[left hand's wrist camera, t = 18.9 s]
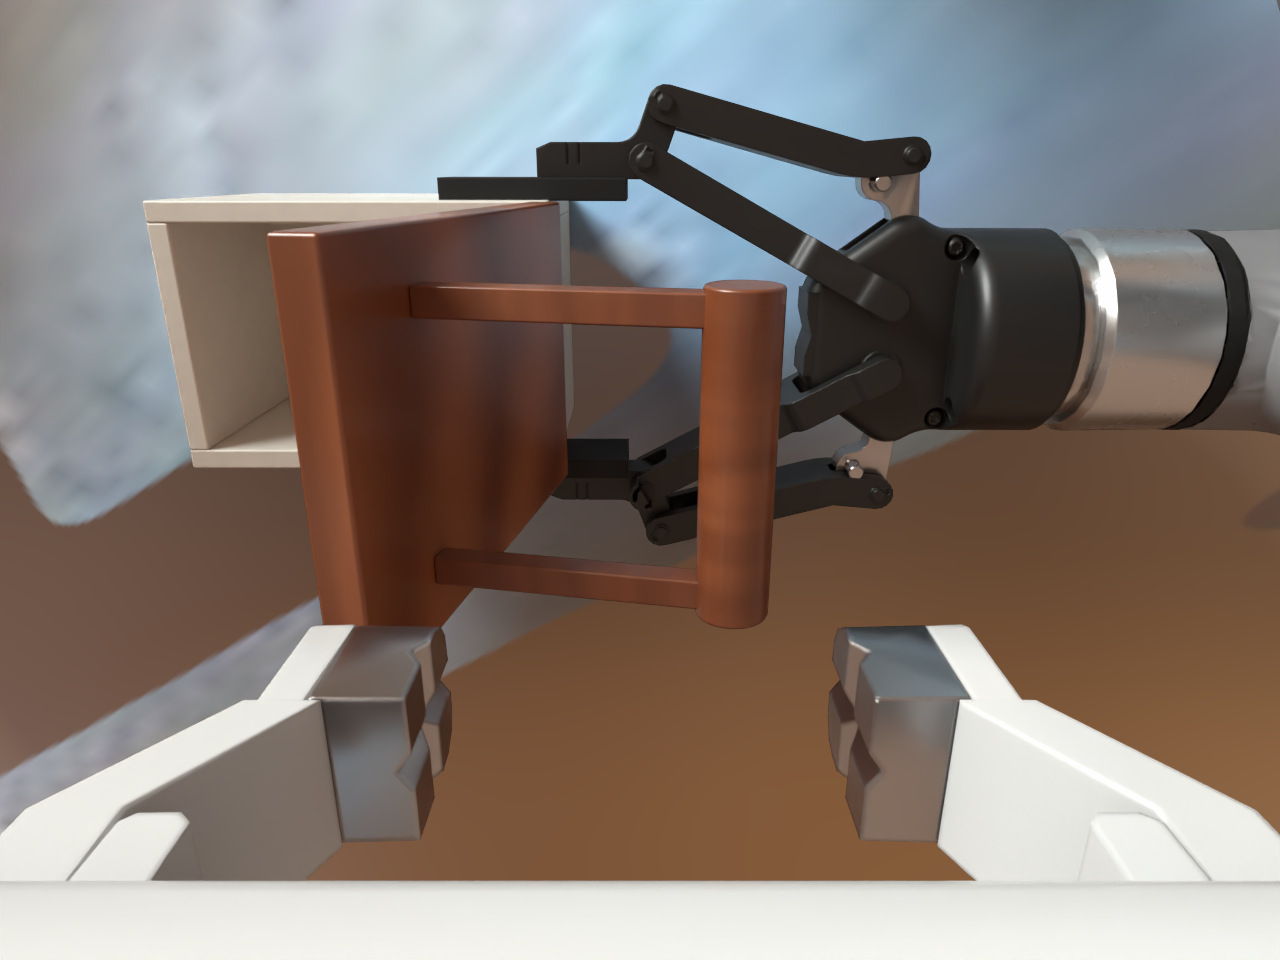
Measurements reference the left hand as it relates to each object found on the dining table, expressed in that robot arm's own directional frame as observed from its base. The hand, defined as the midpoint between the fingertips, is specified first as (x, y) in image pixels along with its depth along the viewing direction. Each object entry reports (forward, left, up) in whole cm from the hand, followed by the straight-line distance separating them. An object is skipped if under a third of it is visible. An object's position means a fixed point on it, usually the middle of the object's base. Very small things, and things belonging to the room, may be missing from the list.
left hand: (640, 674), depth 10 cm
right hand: (-7, -2, -23) cm, 24 cm away
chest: (-10, -3, -30) cm, 32 cm away
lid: (-5, -1, -13) cm, 14 cm away
